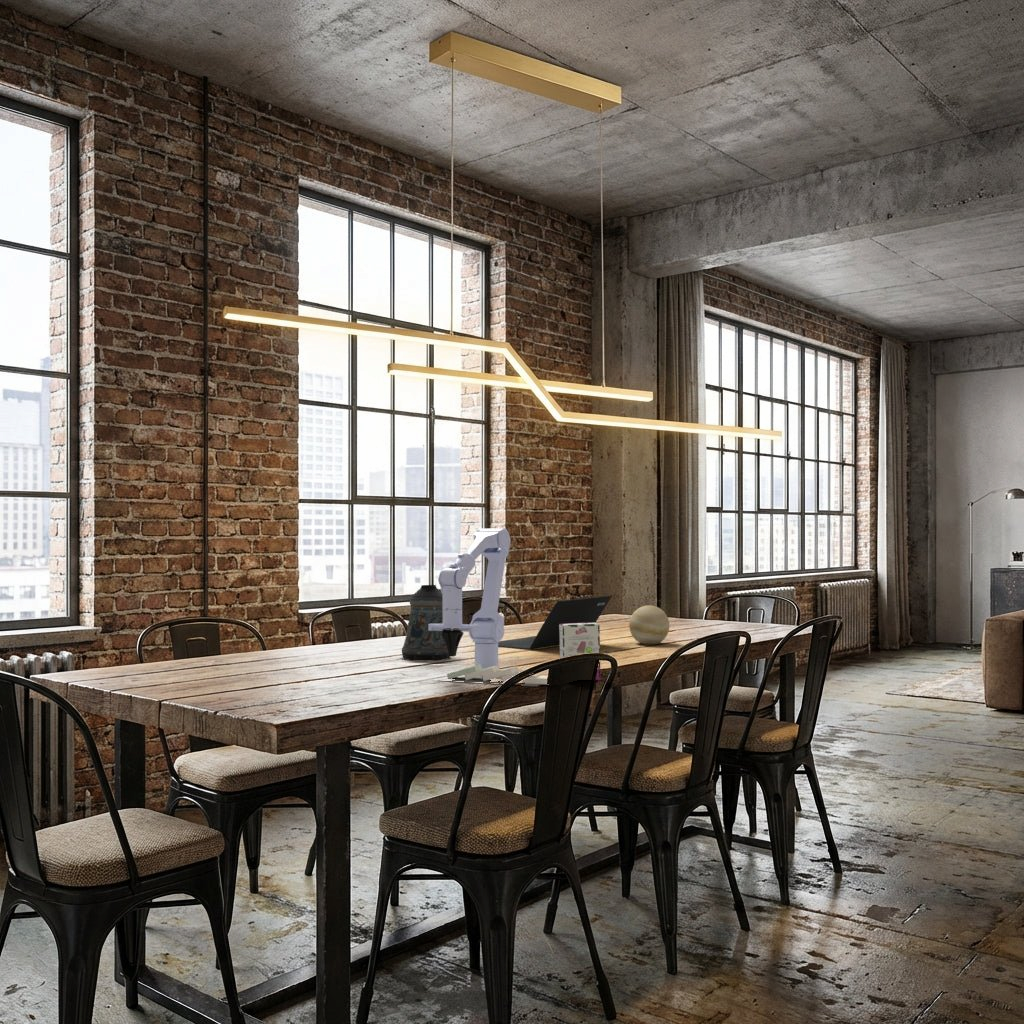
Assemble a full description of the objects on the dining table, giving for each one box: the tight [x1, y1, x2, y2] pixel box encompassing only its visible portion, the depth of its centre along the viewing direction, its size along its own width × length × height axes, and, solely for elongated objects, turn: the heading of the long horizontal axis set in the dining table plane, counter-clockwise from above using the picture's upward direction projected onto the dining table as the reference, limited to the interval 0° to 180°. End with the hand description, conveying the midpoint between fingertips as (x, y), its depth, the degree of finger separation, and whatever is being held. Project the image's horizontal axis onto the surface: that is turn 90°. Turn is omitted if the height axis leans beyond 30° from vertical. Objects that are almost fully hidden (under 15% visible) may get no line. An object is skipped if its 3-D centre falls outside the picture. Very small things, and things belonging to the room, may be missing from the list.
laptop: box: [498, 595, 612, 651], centre depth 385 cm, size 33×38×19 cm
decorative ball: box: [628, 604, 670, 646], centre depth 389 cm, size 15×15×15 cm
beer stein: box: [401, 584, 451, 661], centre depth 349 cm, size 16×19×25 cm
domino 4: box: [522, 675, 548, 685], centre depth 292 cm, size 2×5×9 cm
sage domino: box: [446, 664, 482, 679], centre depth 299 cm, size 2×5×9 cm
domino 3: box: [501, 668, 526, 682], centre depth 293 cm, size 2×5×9 cm
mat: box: [452, 676, 543, 687], centre depth 297 cm, size 36×9×1 cm, turn 69°
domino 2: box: [481, 665, 519, 681], centre depth 296 cm, size 2×5×9 cm
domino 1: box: [464, 664, 501, 680], centre depth 298 cm, size 2×5×9 cm
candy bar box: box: [559, 622, 601, 681], centre depth 299 cm, size 11×5×16 cm, turn 101°
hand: (452, 656), depth 301 cm, fingers closed
